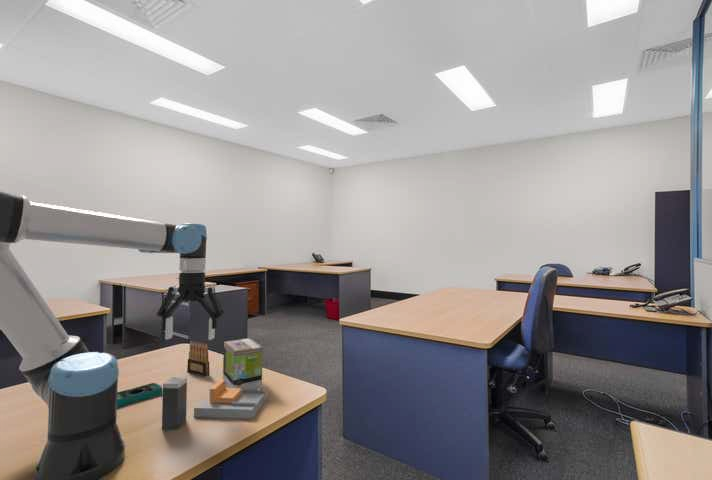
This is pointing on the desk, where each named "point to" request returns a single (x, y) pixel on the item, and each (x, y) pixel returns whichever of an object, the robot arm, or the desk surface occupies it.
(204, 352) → the ammunition clip
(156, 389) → the digital multimeter
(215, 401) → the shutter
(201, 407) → the socket plate
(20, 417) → the desk surface
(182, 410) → the plug
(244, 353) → the tea box
